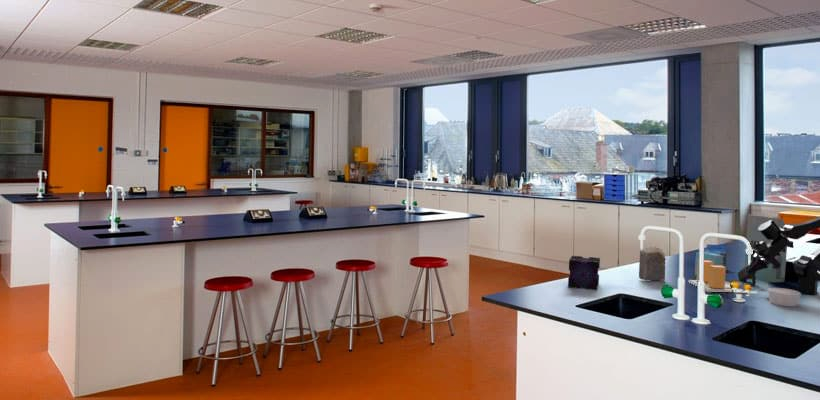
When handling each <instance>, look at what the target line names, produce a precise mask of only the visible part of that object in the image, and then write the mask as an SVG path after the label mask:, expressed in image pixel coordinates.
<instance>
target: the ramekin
mask: <svg viewBox="0 0 820 400" xmlns="http://www.w3.org/2000/svg"><path fill="white" fill-rule="evenodd" d="M767 292H768V301H769V302H770V304H772V305H776V306H782V307H796V306H798V305H799V304H798V303H799V300H800V297H801V294H802V293H800V292H798V290H794V289H790V288H783V287H769V288H768V289H767Z"/></svg>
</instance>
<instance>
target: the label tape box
mask: <svg viewBox="0 0 820 400" xmlns="http://www.w3.org/2000/svg"><path fill="white" fill-rule="evenodd" d="M705 252H709V253H714V254H719V255H721V256H722V257H723V263H722V266H724V267H726V268H727V251H726V250H725V244H706V249H705Z"/></svg>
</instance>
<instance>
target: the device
mask: <svg viewBox="0 0 820 400" xmlns="http://www.w3.org/2000/svg"><path fill="white" fill-rule="evenodd" d="M769 220H773V221H774V222H775V224H776V225H777V226H778V227H779V228H780V227H783V226H785V225H787V223H785V220H783V218H781V217H780V216H777V215H776V216H775V215H760V214H759V215H757V214H753V213H751V214H747V225H746V238H745V239H747V240H748V241H749V242H751V240H754V241H757V242H761V241H763V242H766V243H767V244H768V243H770V242H771V241H772V240H771V239H770V240H767V239H766V238H765V237H764V235H763V234H762V233H761V232H760V231H759V230H758V228H759V226H760V225H761V224H763V223H765V222H768V221H769ZM781 235H782V236H783V234H781ZM783 237H784V236H783ZM786 238H787V237H786ZM787 239H788V240H789V238H787ZM752 249H753V250H755V251H756V249H754V248H752ZM787 251H788V247H786V248H785V249H784V250H782V251H781V252H780V254H781V255H780V256H776V257H775V258H776V259H777V260H778V261H779V263H780V264H781V265H780V268H779V269H777V270H776V269H773V265H772V264H769V265H768V267H769V268H765V269H761V270H758V271H757V272H756V274H755V278H756V280H761V281H764V282H767V283H784V282H785V276H786V265H787ZM751 261H752V260H751ZM746 266H749V265H748V256H747V255H746V253H745V252H744V267H746ZM744 267H743V268H744Z"/></svg>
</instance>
